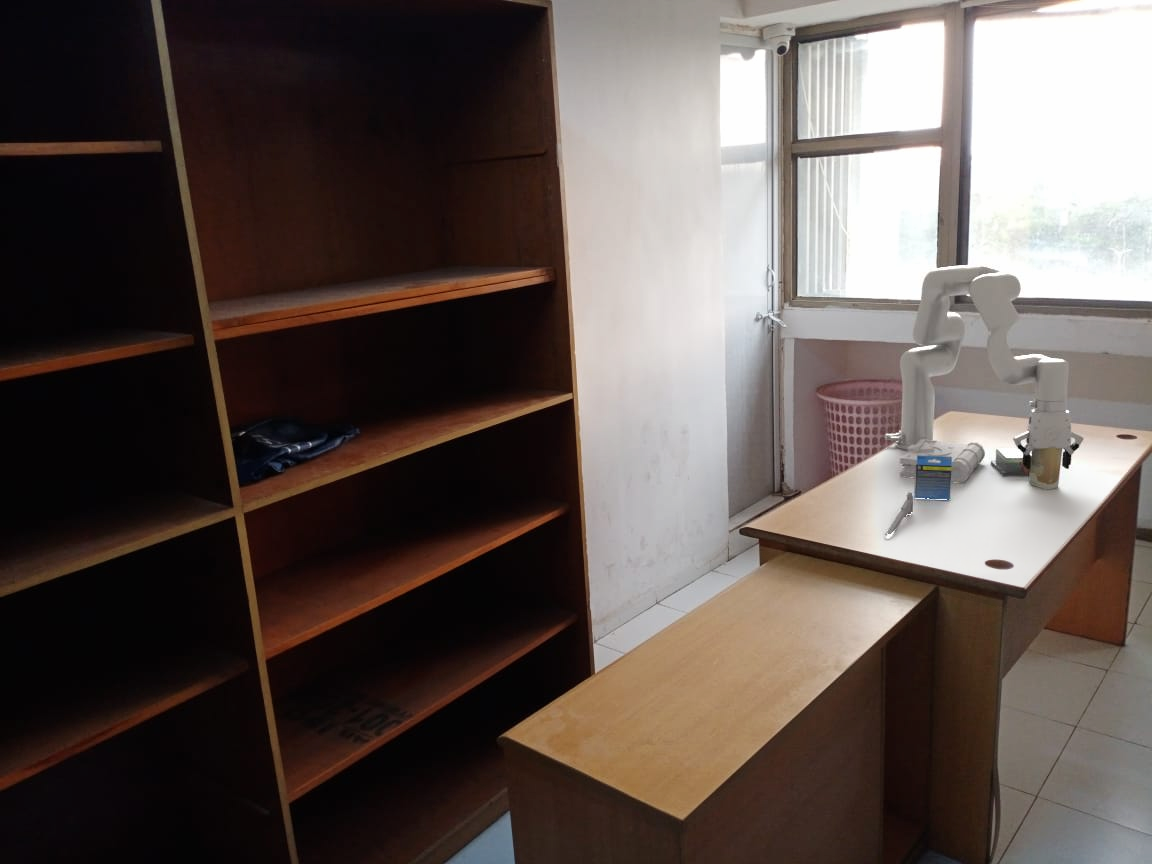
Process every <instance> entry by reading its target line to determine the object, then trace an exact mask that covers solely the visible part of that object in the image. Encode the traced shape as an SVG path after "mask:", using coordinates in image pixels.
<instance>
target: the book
mask: <svg viewBox="0 0 1152 864" xmlns="http://www.w3.org/2000/svg"><path fill="white" fill-rule="evenodd" d="M917 455H924V456H945V457H952V464H951V466H952V474H951V483H953V482H956V483H955V484H963V483H965V482H966V480H967V479H968V478H969V477H970V475H971V474H972V473H973V471H974V470H975V469H976V468H978V466H979V464H981V463H982V461H984V458H985V455H986V452H985V449H984V447H983V445H982V444H980V443H978V442H974V441H972V442H971V441H970V442H968V443H959V442H949V441H948V442H946V441H938V440H935V439H933V440H927V439H921V440H920V441H919V442H918V443H917V444H916V445H913V444H912V445H910V446H909V447H908V448H907V450H906V454H905V453H904V454H903V455H902V456H901V457H899V458H900V459H899V464H900V465H901V464H902V465H901V467H903V468H902V469H900V471H899V477H900V476H905V477H904V478H907V477H914V478H913V479H915V466H916V464H917ZM928 462H932V463H940V461H937V460H935V459H933V460H928ZM957 482H958V483H957Z"/></svg>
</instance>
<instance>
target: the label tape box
mask: <svg viewBox="0 0 1152 864" xmlns="http://www.w3.org/2000/svg"><path fill="white" fill-rule="evenodd" d="M933 459H935V460H937V461H940V463H932V462H928V460H933ZM951 464H952V457H945V456H924V455H917V464H916V466H915V478H914V491H913V494H915V496H914V499H915V498H925V499H927V498H929V499H947V500H949V499H950V500H951V489H952V488H951V487H952V482H951V474H952V466H951Z"/></svg>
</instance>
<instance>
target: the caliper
mask: <svg viewBox="0 0 1152 864" xmlns="http://www.w3.org/2000/svg"><path fill="white" fill-rule="evenodd" d="M911 512H913V513H914V496H913V492H908V493H907V494H906V499H905V500H904V502H903V505H901V507H900V511H898V514H897V516H896V517H895V519H894V520H893V522H892V523H891V525H890V527H889V528H888V529H887V531H886V533H888V534H891V533H892V532H893V531H894V530H895V529H896V528H897V527H899V526H900V525H901V523H902V521H903V520H904V518H906V517H907V516H906V515H907V514H911ZM911 515H912V514H911ZM897 529H898V528H897ZM897 529H896V530H897Z"/></svg>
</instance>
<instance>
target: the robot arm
mask: <svg viewBox="0 0 1152 864" xmlns="http://www.w3.org/2000/svg"><path fill="white" fill-rule="evenodd" d="M1020 293H1021V283H1020V279H1018V277H1017V276H1016V275H1015V274H1013V273H1011V272H1009V271H1006V270H1002V269H1000V268H999V269H998V268H994V267H992V266H987V265H984V264H967V265H966V264H965V265H954V266H946V267H939V268H934V269H932V270H931V271H929V272H928V273H927V274H926V275H925V277H924V278H923V282H922V286H921V296H920V298H921V299H920V303H919V306H918V309H917V313H916V317H915V320H914V321H915V322H914V325H913V328H912V329H913V331H912V337H913V340H914V342H915V344H916V345H919V347H913V348H910V349H908V350H906V351H904V352H903V354H902V355H901V357H900V361H899V366H900V368H899V369H900V374H901V380H902V381H901V382H902V390H901V392H902V394H901V396H902V397H901V399H902V400H901V424H900V425H901V428H900V430H898V432H895V433H885V435H884V436H885V437H884V438H885V440H886V441H889V440H890V441H891V442H895V446H896V447H897V448H899V449H901V450H906V451H907V448H908V447H909V446H910V445H912V444H913V445H916V444H917V443H918V442H919V441H920V440H921V439H927V440H934V421H935V420H934V418H935V401H936V399H935V397H936V391H935V388H934V385H933V383H932V381H931V377H936V376H944V375H946V374H950V373H951V372H952V371H954V368H955V367H956V364H957V362H958V358H959V354H960V352H961V348H962V344H963V340H964V337H965V333H966V332H965V330H966V327H965V323H964V320H963V318H962V316H961V315H960V314H959V313H956V312H952V311H951V312H950V307H951V300H950V297H952V296H953V297H955V296H965V295H969V297H970V298H971V300H972V302H973V304H974V306H975V308H976V310H977V312H978V313H979V316H981V319H982V321H983V323H984V324H985V326H986V328H987V330H988V337H987V341H986V354H987V359H988V362H989V363H990V365H991V368H992V370H993V371H994V373H995V374H996V376H997V377H998V379H999V380H1000V381H1001V382H1002V383H1004V384H1005V385H1008V386H1018V385H1023V384H1024V385H1025V384H1032V383H1035V389H1034V390H1035V391H1034V398H1033V400H1032V401H1029V402H1028V407H1029V408H1033V409H1031V412H1030V414H1029V418H1028V422H1027V427H1026V428H1027V429H1026V431H1025V432H1022V433H1021V434H1018V435H1016V436H1014V437H1013V438H1012V440H1013V442H1014V445H1016V448H1018V449H1019V450H1020V451H1022V452H1023V461H1022V464H1023V466H1024V467H1025V468H1026V469H1030V467H1031V455H1030V452H1031V451H1032V450H1033V449H1048V448H1049V446H1056V449H1062V450H1064V451H1062V457H1061V466H1062V467H1063V468H1065V469H1066V470H1068V469H1070V465H1072V463H1071V462H1072V455H1073V454H1074V452H1075V451H1076V450H1078V449H1079V448H1080V445H1081V444H1082V443H1083V442H1084V437H1083V436H1082V435H1079V434H1077V433H1076V432H1072V421H1071V420H1072V419H1071V413H1070V410H1067V399H1068V398H1067V397H1068V387H1069V386H1068V385H1069V369H1070V368H1069V367H1070V364H1069V362H1068V361H1067V360H1065V359H1062V358H1051V357H1049V356H1045V355H1043V354H1040V353H1039V354H1037V353H1036V354H1035V353H1031V354H1028V355H1027V354H1026V355H1020V356H1014V355H1013V353H1012V350H1011V349H1010V347H1009V344H1008V340H1007V339H1008V333H1009V332H1010V331H1011V330H1013V329H1014V328H1015V327H1016V326H1017V325H1018V324H1019V322H1020V320H1021V319H1020V314H1019V313H1018V311H1017V310H1016V308H1015V305H1014V304H1013V302H1012V301H1014V300H1016V299H1017V298H1018V297H1019V295H1020ZM1072 439H1075V440H1074V442H1072ZM1023 440H1025V441H1026V444H1025V446H1023V445H1022V441H1023ZM1071 443H1072V444H1071ZM896 444H897V445H896Z"/></svg>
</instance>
